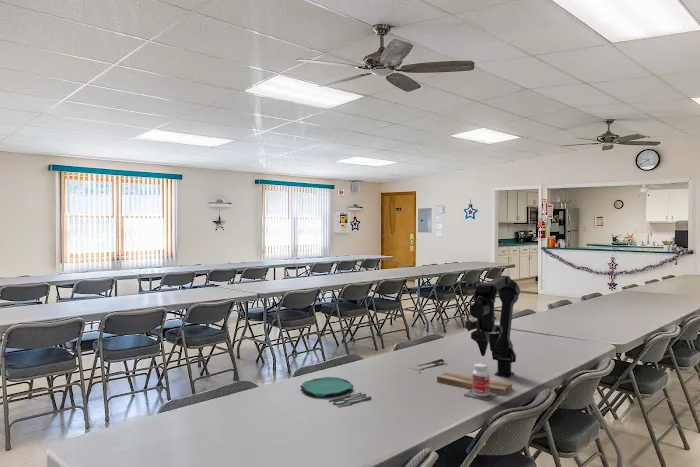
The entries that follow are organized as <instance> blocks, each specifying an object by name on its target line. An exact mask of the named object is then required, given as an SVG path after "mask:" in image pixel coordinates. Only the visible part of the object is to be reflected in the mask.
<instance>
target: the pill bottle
mask: <svg viewBox="0 0 700 467" xmlns="http://www.w3.org/2000/svg"><path fill="white" fill-rule="evenodd" d="M473 366H474V367H473V368H474V369H473V371H472V375H471V376H473V394H474V395H476V396H482V397H484V396H488V395H489V380H490V373H489V371H488V365H487V364H486V363H475V364H474V365H473Z"/></svg>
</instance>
